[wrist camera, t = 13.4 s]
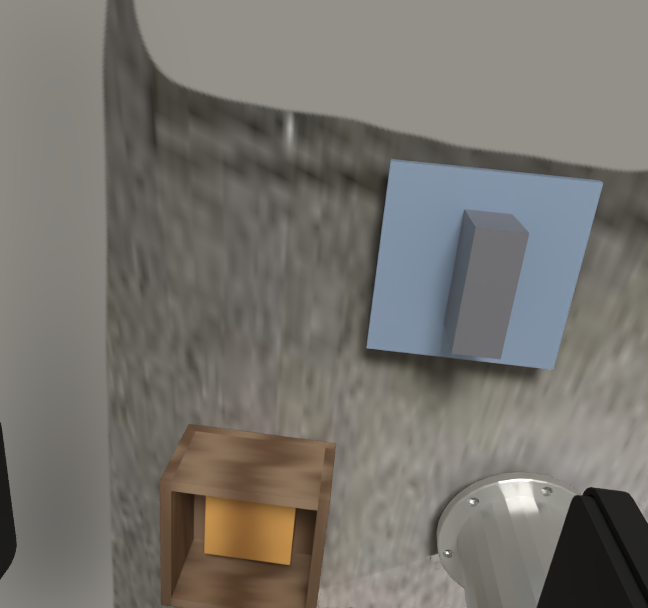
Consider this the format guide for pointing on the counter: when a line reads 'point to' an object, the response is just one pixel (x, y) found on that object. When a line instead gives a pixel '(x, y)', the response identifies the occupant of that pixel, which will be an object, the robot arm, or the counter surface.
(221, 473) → the box
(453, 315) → the lid
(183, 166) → the counter surface
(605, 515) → the robot arm
